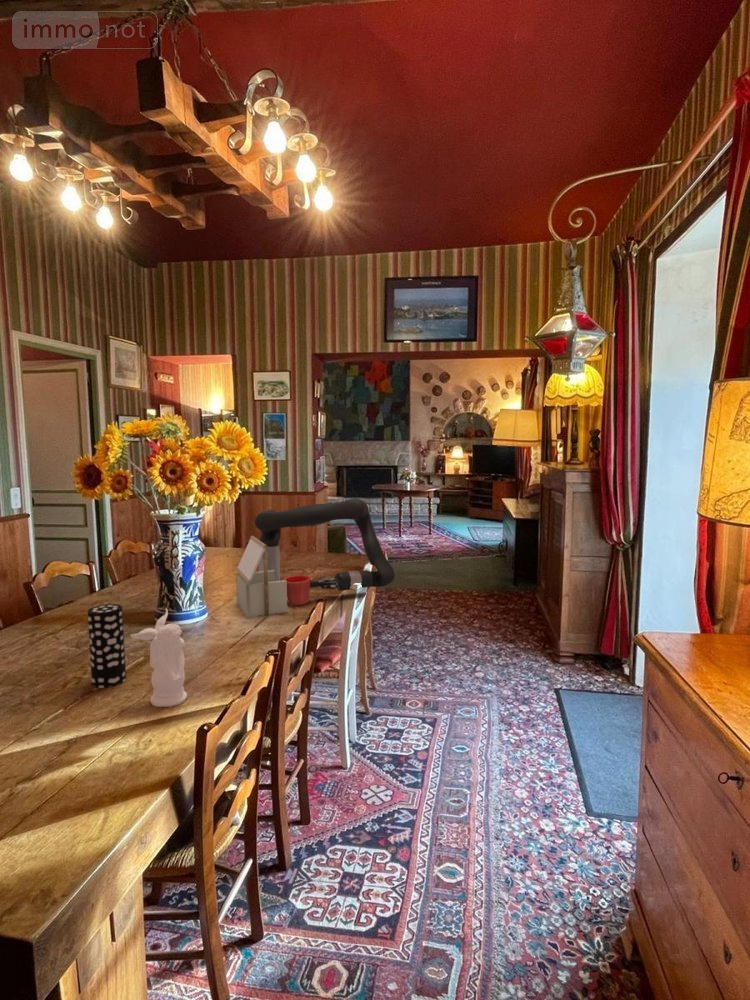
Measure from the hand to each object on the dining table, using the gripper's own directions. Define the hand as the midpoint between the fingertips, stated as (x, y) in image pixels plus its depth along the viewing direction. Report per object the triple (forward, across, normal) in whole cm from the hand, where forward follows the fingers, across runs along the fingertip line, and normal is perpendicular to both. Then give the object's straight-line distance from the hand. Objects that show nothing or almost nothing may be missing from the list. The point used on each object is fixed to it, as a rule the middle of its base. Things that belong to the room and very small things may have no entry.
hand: (308, 584), depth 223 cm
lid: (+22, 0, -12) cm, 26 cm away
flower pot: (+4, 0, +7) cm, 8 cm away
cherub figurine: (+60, +67, +8) cm, 91 cm away
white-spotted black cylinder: (+72, +49, +8) cm, 88 cm away
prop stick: (+20, +11, +7) cm, 23 cm away
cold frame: (+19, 0, +7) cm, 20 cm away
